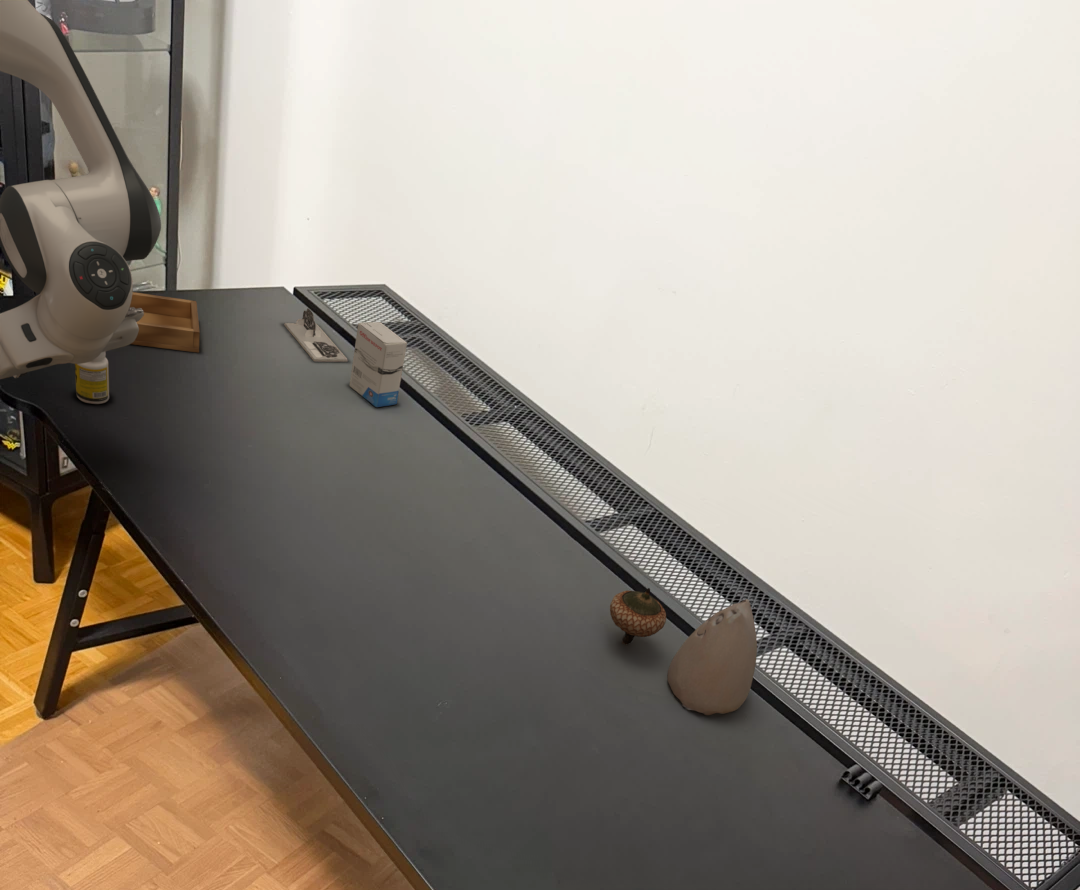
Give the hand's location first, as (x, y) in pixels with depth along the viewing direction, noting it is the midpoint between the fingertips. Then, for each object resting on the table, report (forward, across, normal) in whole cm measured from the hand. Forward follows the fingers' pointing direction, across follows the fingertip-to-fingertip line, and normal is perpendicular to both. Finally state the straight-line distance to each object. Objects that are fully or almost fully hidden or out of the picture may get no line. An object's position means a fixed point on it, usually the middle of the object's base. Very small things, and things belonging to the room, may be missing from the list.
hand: (50, 362), depth 140 cm
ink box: (+12, -54, +16) cm, 58 cm away
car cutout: (+27, -57, +2) cm, 63 cm away
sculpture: (-48, -45, +77) cm, 101 cm away
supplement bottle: (+16, -9, +2) cm, 18 cm away
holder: (+31, -31, -9) cm, 44 cm away
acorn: (-40, -42, +67) cm, 89 cm away
